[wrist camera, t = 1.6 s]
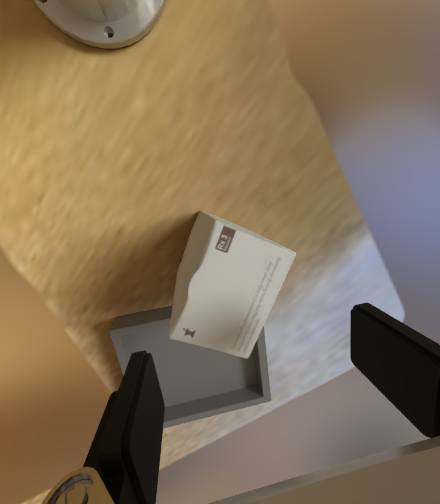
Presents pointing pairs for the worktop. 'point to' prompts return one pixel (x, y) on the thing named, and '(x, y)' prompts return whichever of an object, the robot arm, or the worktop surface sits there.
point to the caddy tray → (192, 368)
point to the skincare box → (226, 286)
